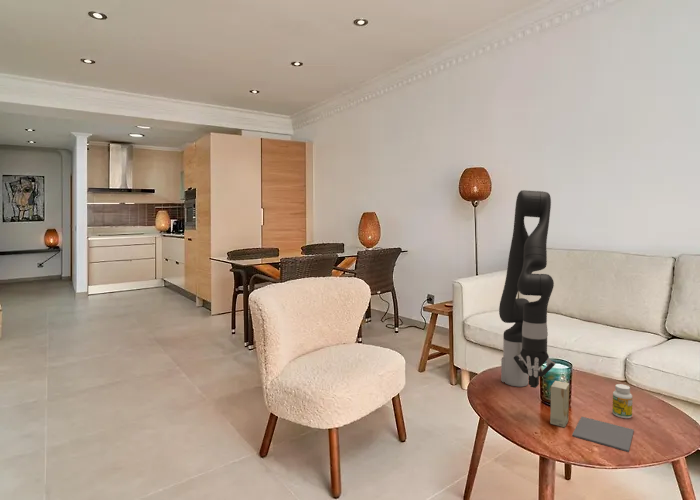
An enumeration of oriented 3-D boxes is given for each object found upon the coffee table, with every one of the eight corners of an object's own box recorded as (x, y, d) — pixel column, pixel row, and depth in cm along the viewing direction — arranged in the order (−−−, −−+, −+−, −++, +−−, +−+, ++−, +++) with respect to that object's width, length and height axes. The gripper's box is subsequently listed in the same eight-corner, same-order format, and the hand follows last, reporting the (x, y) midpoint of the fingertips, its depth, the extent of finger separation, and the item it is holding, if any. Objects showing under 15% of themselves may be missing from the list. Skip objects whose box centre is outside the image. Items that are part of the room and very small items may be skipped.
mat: (572, 436, 124) (572, 434, 124) (581, 417, 135) (581, 416, 135) (628, 452, 115) (628, 450, 115) (633, 431, 126) (633, 429, 126)
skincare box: (565, 428, 129) (565, 389, 128) (549, 424, 131) (550, 386, 130) (568, 419, 134) (569, 382, 133) (554, 416, 136) (554, 379, 135)
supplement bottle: (635, 416, 135) (636, 387, 134) (625, 420, 133) (626, 391, 132) (618, 409, 140) (619, 381, 139) (608, 413, 138) (609, 385, 137)
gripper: (509, 334, 137) (509, 385, 138) (553, 341, 128) (552, 395, 130) (517, 329, 142) (516, 378, 144) (559, 335, 134) (558, 387, 135)
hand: (533, 386), depth 137 cm, fingers closed
